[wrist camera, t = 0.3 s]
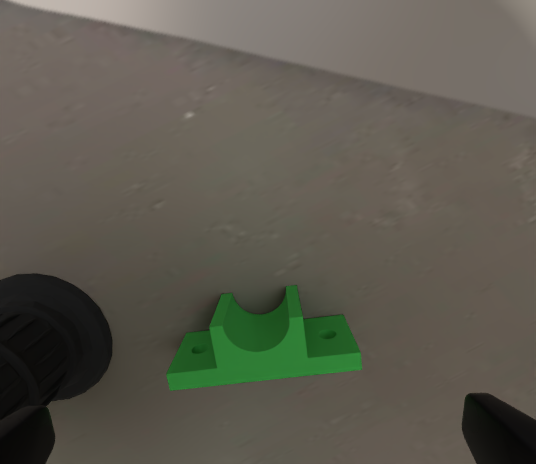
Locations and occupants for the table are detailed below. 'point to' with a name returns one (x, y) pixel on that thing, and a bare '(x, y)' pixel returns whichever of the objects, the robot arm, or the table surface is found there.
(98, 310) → the handle grip
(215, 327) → the pipe clamp
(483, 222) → the table surface
